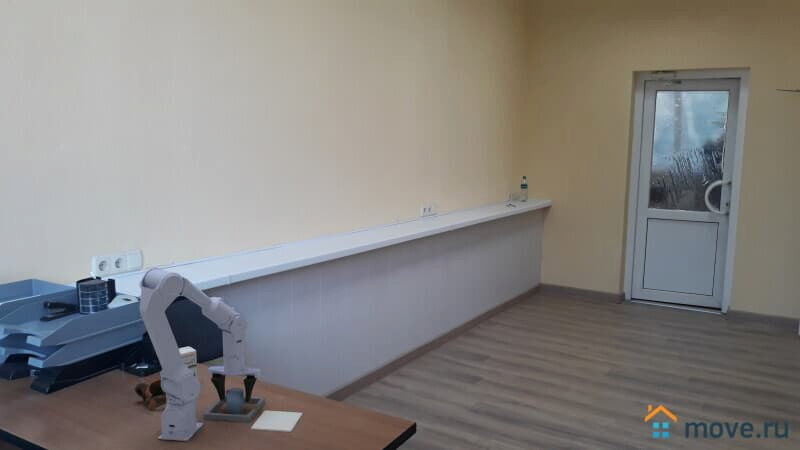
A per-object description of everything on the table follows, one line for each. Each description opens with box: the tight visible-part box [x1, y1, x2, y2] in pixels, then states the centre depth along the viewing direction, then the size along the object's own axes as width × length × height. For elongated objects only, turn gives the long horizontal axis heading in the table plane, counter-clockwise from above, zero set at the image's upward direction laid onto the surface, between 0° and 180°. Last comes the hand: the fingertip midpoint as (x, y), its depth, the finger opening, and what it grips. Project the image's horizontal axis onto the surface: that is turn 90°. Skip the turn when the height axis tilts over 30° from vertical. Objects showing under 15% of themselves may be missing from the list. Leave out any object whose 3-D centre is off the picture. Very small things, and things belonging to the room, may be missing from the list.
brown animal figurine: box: [134, 378, 167, 411], centre depth 183 cm, size 12×10×8 cm
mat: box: [250, 410, 303, 433], centre depth 172 cm, size 11×11×1 cm
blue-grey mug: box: [225, 387, 245, 415], centre depth 179 cm, size 7×5×6 cm
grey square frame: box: [203, 394, 266, 423], centre depth 179 cm, size 13×13×2 cm
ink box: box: [178, 346, 198, 380], centre depth 195 cm, size 9×5×12 cm, turn 134°
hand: (235, 399), depth 179 cm, fingers open, 7 cm apart
